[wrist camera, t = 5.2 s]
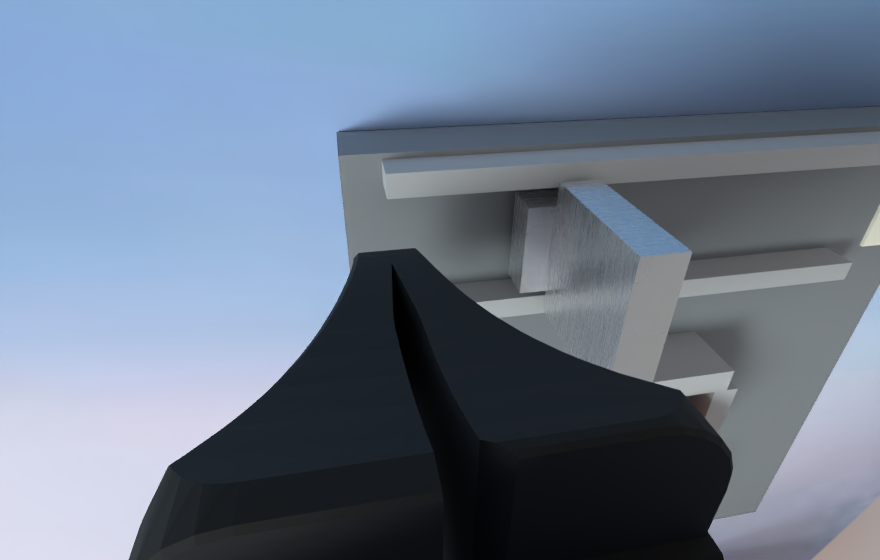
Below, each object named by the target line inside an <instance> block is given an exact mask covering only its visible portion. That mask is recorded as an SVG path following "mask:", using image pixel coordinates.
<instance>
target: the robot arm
mask: <svg viewBox="0 0 880 560" xmlns="http://www.w3.org/2000/svg"><path fill="white" fill-rule="evenodd" d="M732 471H733V461H732V452H731V451H730V450H729V448H728V447H727V445H726V444H725V442H724V441H723V439H722V438H721V437H720V436H719V434H718V433H717V432H716V431H715V430H714V428H713V427H712V426H711V425H710V423H709V422H708V421H707V420H706V419H705V417H704V416H703V415H702V414H701V413H700V411H699V410H698V409H697V408H696V407H695V406H694V405H693V403H692V402H691V401H690V400H689V399H688V398H687V397H686V396H685V395H684V394H683V393H682V392H681V390H678V389H674V388H671V387H667V386H664V385H660V384H656V383H653V382H649V381H646V380H642V379H639V378H635V377H631V376H628V375H624V374H621V373H618V372H615V371H612V370H609V369H606V368H604V367H601V366H598V365H595V364H592V363H590V362H587V361H584V360H582V359H579V358H577V357H574V356H572V355H569V354H567V353H564V352H562V351H560V350H558V349H556V348H554V347H551V346H549V345H547V344H545V343H543V342H541V341H539V340H537V339H535V338H533V337H531V336H529V335H527V334H525V333H523V332H521V331H520V330H518V329H516V328H514V327H513V326H511V325H509V324H508V323H506V322H504V321H503V320H501V319H499V318H498V317H496V316H495V315H493V314H492V313H490V312H489V311H487V310H486V309H484V308H483V307H482V306H480V305H479V304H478V303H476V302H475V301H473V300H472V299H471V298H469V297H468V296H467V295H466V294H464V293H463V292H462V291H461V290H460V289H459V288H457V287H456V286H455V285H454V284H453V283H452V282H450V281H449V280H448V279H447V278H446V277H445V276H444V275H443V274H442V273H441V272H440V271H439V270H437V269H436V268H435V267H434V266H433V265H432V264H431V263H430V262H429V261H428V260H427V259H426V258H425V257H424V256H423V255H422V254H421V253H420V252H419V251H418V250H417V249H416V248H409V249H397V250H386V251H375V252H363V253H358V254H357V255H356V256H355V257H354V259H353V265H352V269H351V272H350V274H349V277H348V279H347V282H346V284H345V286H344V288H343V290H342V292H341V294H340V296H339V298H338V301H337V302H336V304H335V306H334V308H333V310H332V311H331V313H330V314H329V316H328V318H327V319H326V321H325V323H324V324H323V326H322V327H321V329H320V330H319V332H318V333H317V335H316V336H315V338H314V339H313V340H312V342H311V343H310V344H309V346H308V347H307V348H306V349H305V351H304V352H303V353H302V355H301V356H300V357H299V358H298V359H297V361H296V362H295V363H294V364H293V365H292V366H291V367H290V368H289V369H288V370H287V372H286V373H285V374H284V375H283V376H282V377H281V378H280V379H279V380H278V381H277V382H276V383H275V384H274V385H273V386H272V387H271V388H270V389H269V390H268V391H267V392H266V393H265V394H264V395H263V396H262V397H261V398H259V399H258V400H257V401H256V402H255V403H254V404H253V405H252V406H250V407H249V408H248V409H247V410H245V411H244V412H243V413H242V414H241V415H239V416H238V417H237V418H236V419H234V420H233V421H232V422H231V423H229V424H228V425H227V426H225V427H224V428H223V429H221V430H220V431H218V432H217V433H216V434H214V435H213V436H211V437H210V438H209V439H207V440H206V441H204V442H203V443H201V444H200V445H199V446H197V447H196V448H194V449H193V450H191V451H190V452H189V453H187V454H186V455H184V456H183V457H181V458H180V459H178V460H177V461H175V462H174V463H172V464H171V465H169V467H168V468H167V470H166V472H165V474H164V476H163V478H162V480H161V482H160V485H159V487H158V489H157V491H156V493H155V495H154V497H153V499H152V501H151V503H150V505H149V507H148V509H147V512H146V514H145V516H144V518H143V520H142V523H141V525H140V528H139V531H138V534H137V537H136V540H135V542H134V545H133V549H132V552H131V555H130V558H129V560H724V558H723V554H722V552H721V551H720V549H719V548H718V546H717V545H716V543H715V542H714V540H713V539H712V538H711V536H710V535H709V533H708V532H707V531H708V529H709V527H710V525H711V523H712V521H713V519H714V517H715V514H716V512H717V510H718V508H719V506H720V504H721V502H722V500H723V498H724V496H725V494H726V491H727V489H728V485H729V482H730V479H731V475H732Z"/></svg>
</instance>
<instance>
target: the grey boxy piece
mask: <svg viewBox="0 0 880 560" xmlns="http://www.w3.org/2000/svg"><path fill="white" fill-rule="evenodd" d="M691 255H692V251H691V250H690V249H688V248H687V247H686V246H685V245H683V244H682V243H681V242H679V241H678V240H677V239H676V238H674V237H673V236H672V235H670V234H669V233H668V232H667V231H665V230H664V229H663V228H661V227H660V226H659V225H658V224H656V223H655V222H654V221H653V220H651V219H650V218H649V217H647V216H646V215H645V214H644V213H642V212H641V211H640V210H638V209H637V208H636V207H635V206H633V205H632V204H631V203H629V202H628V201H627V200H626V199H624V198H623V197H622V196H620V195H619V194H618V193H617V192H615V191H614V190H613V189H612V188H610V187H609V186H608V185H606V184H605V183H604V182H603V181H601V180H586V181H572V182H560V186H559V190H545V191H531V192H516V193H515V204H514V216H513V227H512V238H511V250H510V261H509V273H508V274H509V276H510V277H511V279H512V281H513V283H514V284H515V286H516V288H517V289H518V291H519V293H528V292H538V291H545V297H544V304H543V311H544V312H545V314H546V315H547V317H548V318H549V320H550V322H551V323H552V325H553V326H554V328H555V330H556V331H557V333H558V334H559V336H560V338H561V339H562V341H563V342H564V344H565V345H566V347H567V349H568V350H569V352H570V353H571V355H572V356H574V357H577V358H579V359H582V360H584V361H587V362H590V363H592V364H595V365H598V366H601V367H604V368H606V369H609V370H612V371H615V372H618V373H621V374H624V375H628V376H631V377H635V378H639V379H642V380H646V381H649V382H653V380H654V377H655V373H656V370H657V367H658V364H659V360H660V357H661V354H662V350H663V347H664V344H665V341H666V337H667V334H668V331H669V327H670V324H671V321H672V317H673V314H674V311H675V308H676V304H677V301H678V298H679V294H680V291H681V288H682V285H683V281H684V278H685V275H686V271H687V268H688V265H689V261H690V258H691Z"/></svg>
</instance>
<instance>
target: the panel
mask: <svg viewBox="0 0 880 560" xmlns="http://www.w3.org/2000/svg"><path fill="white" fill-rule="evenodd" d="M337 144H338V159H339V169H340V178H341V188H342V197H343V207H344V216H345V226H346V235H347V245H348V254H349V264H350V272H351V269H352V265H353V259H354V257H355V256H356V255H357V254H358V253H363V252H375V251H386V250H397V249H409V248H416V249H417V250H418V251H419V252H420V253H421V254H422V255H423V256H424V257H425V258H426V259H427V260H428V261H429V262H430V263H431V264H432V265H433V266H434V267H435V268H436V269H437V270H439V271H440V272H441V273H442V274H443V275H444V276H445V277H446V278H447V279H448V280H449V281H450V282H452V283H453V284H454V285H455V286H456V287H457V288H459V289H460V290H461V291H462V292H463V293H464V294H466V295H467V296H468V297H469V298H471V299H472V300H473V301H475V302H476V303H478V304H479V305H480V306H482V307H483V308H484V309H486V310H487V311H489V312H490V313H492V314H493V315H495V316H496V317H498V318H499V319H501V320H503V321H504V322H506V323H508V324H509V325H511V326H513V327H514V328H516V329H518V330H520V331H521V332H523V333H525V334H527V335H529V336H531V337H533V338H535V339H537V340H539V341H541V342H543V343H545V344H547V345H549V346H551V347H554V348H556V349H558V350H560V351H562V352H564V353H567V354H569V355H571V353H570V352H569V350H568V349H567V347H566V345H565V344H564V342H563V341H562V339H561V338H560V336H559V334H558V333H557V331H556V330H555V328H554V326H553V325H552V323H551V322H550V320H549V318H548V317H547V315H546V314H545V312H544V311H543V304H544V297H545V291H538V292H528V293H519V291H518V289H517V288H516V286H515V284H514V283H513V281H512V279H511V277H510V276H509V274H508V273H509V261H510V250H511V238H512V227H513V216H514V204H515V193H516V192H531V191H545V190H559V186H560V182H572V181H586V180H601V181H603V182H604V183H605V184H606V185H608V186H609V187H610V188H612V189H613V190H614V191H615V192H617V193H618V194H619V195H620V196H622V197H623V198H624V199H626V200H627V201H628V202H629V203H631V204H632V205H633V206H635V207H636V208H637V209H638V210H640V211H641V212H642V213H644V214H645V215H646V216H647V217H649V218H650V219H651V220H653V221H654V222H655V223H656V224H658V225H659V226H660V227H661V228H663V229H664V230H665V231H667V232H668V233H669V234H670V235H672V236H673V237H674V238H676V239H677V240H678V241H679V242H681V243H682V244H683V245H685V246H686V247H687V248H688V249H690V250H691V251H692V255H691V258H690V261H689V265H688V268H687V271H686V275H685V278H684V281H683V285H682V288H681V291H680V294H679V298H678V301H677V304H676V308H675V311H674V314H673V317H672V321H671V324H670V327H669V331H668V334H667V337H666V341H665V344H664V347H663V350H662V354H661V357H660V360H659V364H658V367H657V370H656V373H655V377H654V380H653V383H656V384H660V385H664V386H667V387H671V388H674V389H678V390H681V392H682V393H683V394H684V395H685V396H686V397H687V398H688V399H689V400H690V401H691V402H692V403H693V405H694V406H695V407H696V408H697V409H698V410H699V411H700V413H701V414H702V415H703V416H704V417H705V419H706V420H707V421H708V422H709V423H710V425H711V426H712V427H713V428H714V430H715V431H716V432H717V433H718V434H719V436H720V437H721V438H722V439H723V441H724V442H725V444H726V445H727V447H728V448H729V450H730V451H731V452H732V461H733V471H732V475H731V479H730V482H729V485H728V489H727V491H726V494H725V496H724V498H723V500H722V502H721V504H720V506H719V508H718V510H717V512H716V514H715V517H714V519H719V518H724V517H730V516H735V515H740V514H745V513H750V512H755V511H756V509H757V507H758V506H759V504H760V502H761V500H762V498H763V496H764V495H765V493H766V491H767V489H768V487H769V485H770V484H771V482H772V480H773V478H774V476H775V474H776V473H777V471H778V469H779V467H780V465H781V463H782V462H783V460H784V458H785V456H786V454H787V452H788V451H789V449H790V447H791V445H792V443H793V441H794V440H795V438H796V436H797V434H798V432H799V431H800V429H801V427H802V425H803V423H804V421H805V420H806V418H807V416H808V414H809V412H810V410H811V409H812V407H813V405H814V403H815V401H816V399H817V398H818V396H819V394H820V392H821V390H822V388H823V387H824V385H825V383H826V381H827V379H828V377H829V376H830V374H831V372H832V370H833V368H834V366H835V365H836V363H837V361H838V359H839V357H840V355H841V354H842V352H843V350H844V348H845V346H846V345H847V343H848V341H849V339H850V337H851V335H852V334H853V332H854V330H855V328H856V326H857V324H858V323H859V321H860V319H861V317H862V315H863V313H864V312H865V310H866V308H867V306H868V304H869V302H870V301H871V299H872V297H873V295H874V293H875V291H876V290H877V288H878V286H879V284H880V106H876V107H855V108H834V109H813V110H792V111H771V112H750V113H729V114H708V115H687V116H666V117H645V118H624V119H603V120H582V121H561V122H540V123H519V124H498V125H477V126H456V127H435V128H414V129H393V130H372V131H351V132H337ZM714 519H713V520H714Z"/></svg>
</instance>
